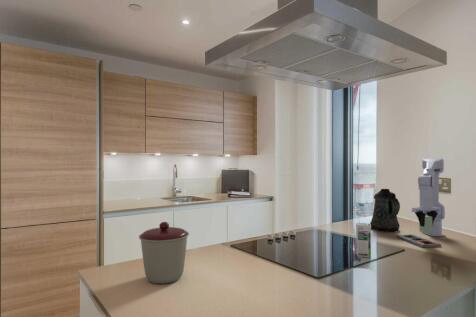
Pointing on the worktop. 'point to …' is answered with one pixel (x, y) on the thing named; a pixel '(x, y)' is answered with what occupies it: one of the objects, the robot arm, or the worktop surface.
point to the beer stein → (385, 212)
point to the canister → (164, 253)
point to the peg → (426, 225)
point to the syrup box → (363, 239)
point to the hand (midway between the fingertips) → (426, 226)
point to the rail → (422, 242)
